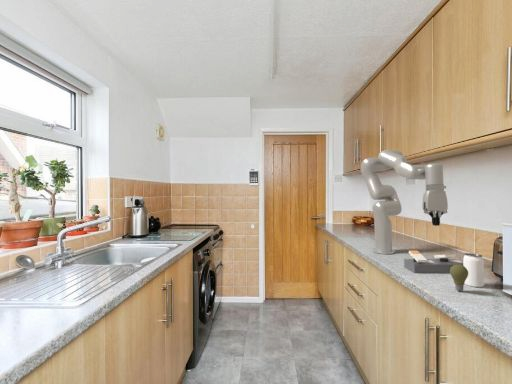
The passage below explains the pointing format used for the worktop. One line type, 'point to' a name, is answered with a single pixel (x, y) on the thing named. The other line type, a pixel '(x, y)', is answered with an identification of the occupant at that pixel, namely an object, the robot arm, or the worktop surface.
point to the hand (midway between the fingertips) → (436, 225)
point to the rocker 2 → (443, 256)
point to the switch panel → (431, 265)
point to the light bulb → (459, 276)
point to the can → (474, 270)
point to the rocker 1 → (417, 256)
